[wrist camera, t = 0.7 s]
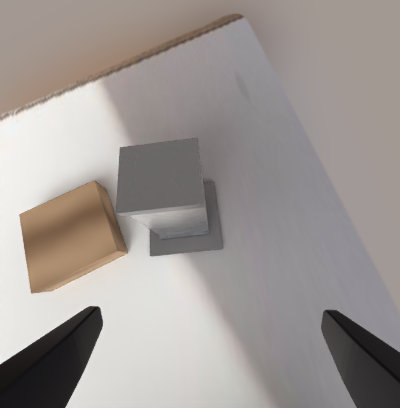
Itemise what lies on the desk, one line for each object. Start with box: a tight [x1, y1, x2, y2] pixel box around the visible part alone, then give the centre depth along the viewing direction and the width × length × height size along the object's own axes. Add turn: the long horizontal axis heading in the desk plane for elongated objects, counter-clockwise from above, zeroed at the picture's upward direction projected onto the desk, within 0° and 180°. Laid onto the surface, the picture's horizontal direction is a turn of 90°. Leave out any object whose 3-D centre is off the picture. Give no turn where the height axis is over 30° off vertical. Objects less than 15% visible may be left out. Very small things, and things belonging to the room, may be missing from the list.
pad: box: [150, 182, 223, 256], centre depth 22 cm, size 8×8×1 cm
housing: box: [116, 138, 209, 240], centre depth 17 cm, size 5×5×10 cm
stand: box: [19, 180, 128, 293], centre depth 22 cm, size 9×9×2 cm
